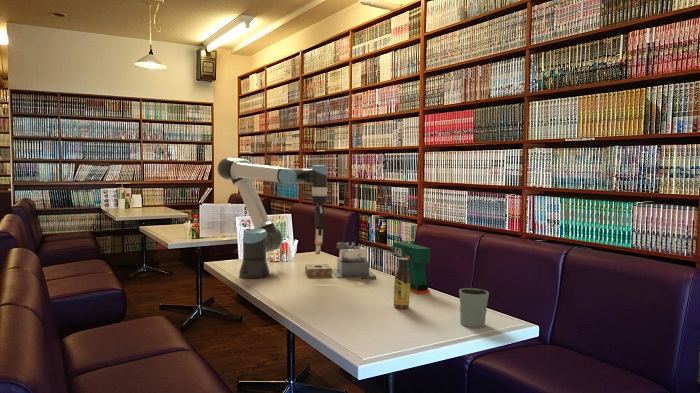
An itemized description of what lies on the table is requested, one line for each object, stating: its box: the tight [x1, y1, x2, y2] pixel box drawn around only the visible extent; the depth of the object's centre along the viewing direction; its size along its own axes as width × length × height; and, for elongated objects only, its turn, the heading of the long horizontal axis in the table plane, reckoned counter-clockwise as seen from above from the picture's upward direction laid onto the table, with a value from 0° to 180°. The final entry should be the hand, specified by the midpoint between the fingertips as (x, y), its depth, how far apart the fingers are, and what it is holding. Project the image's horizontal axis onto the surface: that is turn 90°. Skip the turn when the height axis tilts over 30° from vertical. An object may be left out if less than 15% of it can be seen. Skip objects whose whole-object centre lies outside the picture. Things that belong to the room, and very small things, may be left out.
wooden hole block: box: [304, 263, 333, 278], centre depth 246 cm, size 12×12×5 cm
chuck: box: [336, 241, 367, 262], centre depth 250 cm, size 15×14×9 cm
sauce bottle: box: [393, 257, 411, 310], centre depth 192 cm, size 7×6×20 cm
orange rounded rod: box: [314, 229, 324, 255], centre depth 246 cm, size 4×4×12 cm
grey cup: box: [458, 287, 490, 329], centre depth 172 cm, size 10×10×12 cm
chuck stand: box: [332, 257, 377, 280], centre depth 250 cm, size 20×20×8 cm
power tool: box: [389, 241, 431, 295], centre depth 229 cm, size 32×7×20 cm, turn 25°
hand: (319, 241), depth 246 cm, fingers closed on orange rounded rod, 3 cm apart
